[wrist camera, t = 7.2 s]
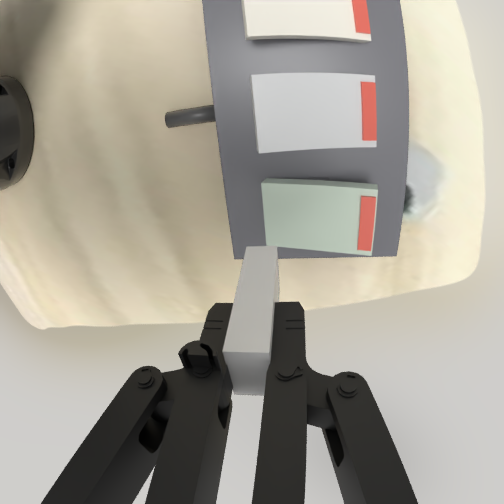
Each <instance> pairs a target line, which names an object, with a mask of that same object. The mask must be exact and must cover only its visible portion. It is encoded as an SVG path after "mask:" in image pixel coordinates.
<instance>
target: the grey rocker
mask: <svg viewBox="0 0 504 504" xmlns="http://www.w3.org/2000/svg"><path fill="white" fill-rule="evenodd" d="M250 84H251V94H252V104H253V114H254V124H255V134H256V145H257V151H258V153H270V152H281V151H294V150H309V149H327V148H356V147H376V143H377V114H376V85H375V76H374V75H362V74H347V73H272V74H257V75H251V76H250Z"/></svg>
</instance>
